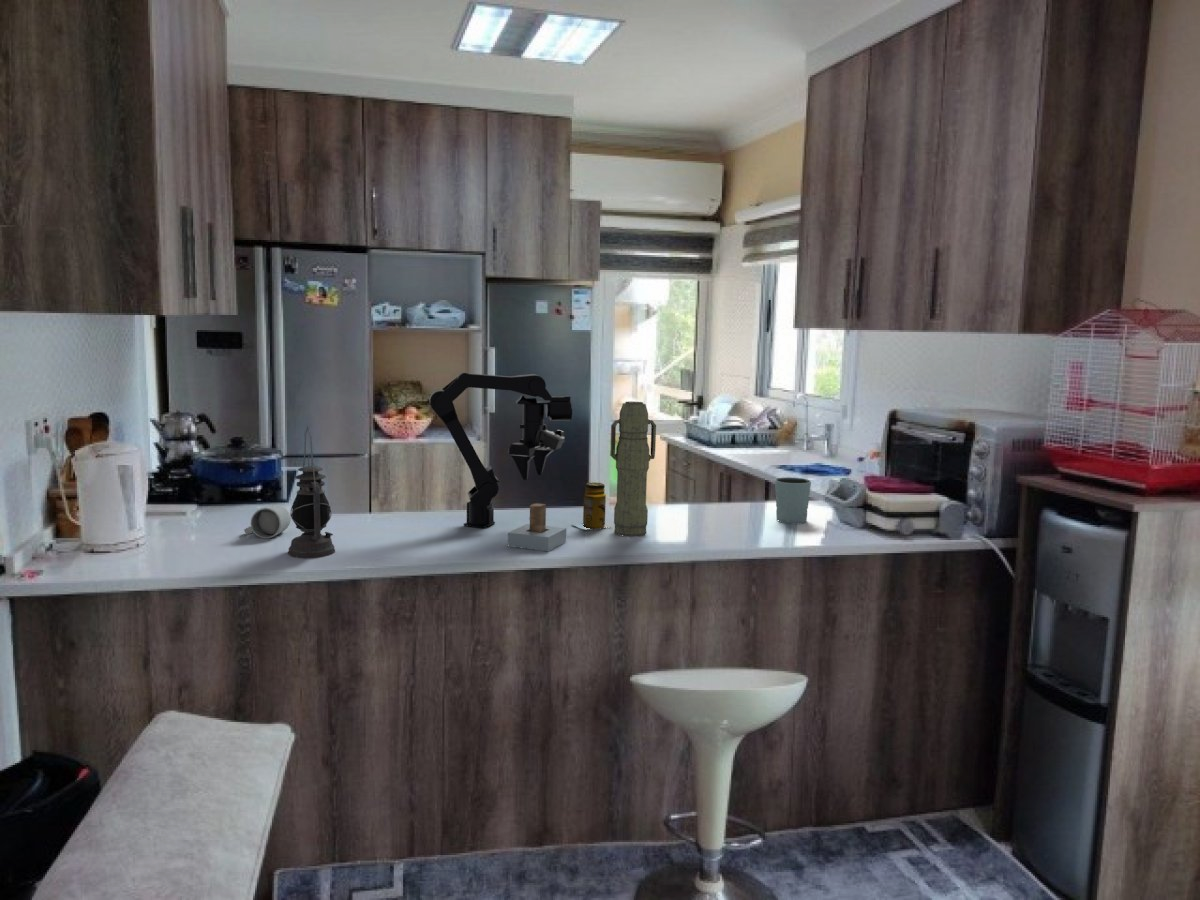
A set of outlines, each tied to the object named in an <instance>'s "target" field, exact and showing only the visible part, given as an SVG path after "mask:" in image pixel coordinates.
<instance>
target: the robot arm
mask: <svg viewBox="0 0 1200 900" xmlns="http://www.w3.org/2000/svg"><path fill="white" fill-rule="evenodd" d="M546 383H547V382H546V381H545V379H544V378H543V377H542V376H540V375H537V374H535V373H528V374H519V375H512V376H507V375H495V374H494V375H493V374H480V373H471V372H465V371H464V372H460V373H459V374H458V375H457V376H456V377H455V378H454V379H453V380H451V381H450V382H449V383H448V384H446V385H445V386H444V387H443V388H442V389H440V388H439V389H436V390H434V391H432V392H431V394H430V395H429V400H428V401H429V405H430V408H431V409H432V411H434V413H435V414H436V415H437V416H438V418H439V419H440V420H441V421H442V423H443V424H444V425H445V426H446V428H447V429H448V432H449V433H450V435H451V437H452V439H453V441H454V442H455V444H456V447H457V448H458V449H459V451H460V454H461V455H462V458H463V459H464V461H465V463H466V464H467V465H466V466H467V467H468V469H469V470H470V474H471V477H472V480H473V483H474V486H473V487H472V488H471V489H470V490H468V492H467V495H468V498H469V499H468V500H469V501H467V502H466V522H465V523H463V526H464V525H468V526H467V527H472V526H475V528H480V527H485V528H487V527H486V526H488V527H489V525H490V526H491V524H492V525H494V523H496V521H495V520H494V519H495V518H494V516H495V515H494V513H495V512H494V511H495V510H494V508H493V502H492V500H493V499H494V498H495V497H496V496H497V494H498V493H499V489H500V488H499V484H498V483H500V480H499V478H498V477H497V476H496V475H495V473H494V470H493V468H492V466H491V465H488V466H487V467H486V466H485V465H484V464H483V462H482V461H481V459H480V458H479V455H478V453H477V452H476V449H475V448H474V446H473V444H472V443H471V441H470V438H469V437H468V435H467V433H466V432H465V429H464V428H463V426H462V423H461V422H460V420H459V418H458V414H457V411H456V408H455V405H454V401H455V400H456V399H458V397H460V395H462V393H464V391H466V390H467V389H468V388H474V389H475V388H476V389H485V390H486V389H487V390H488V389H489V390H501V391H502V390H503V391H512V392H515V393H517V394H518V393H519V394H521V395H520V397H518V399H517V400H516V401H515V403H516V404H517V405H522V424H519V428H520V429H522V438H521V439H519V442H513V443H511V444H509V446H508V448H507V449H508V450H507V454H508V455H510V458H512V459H513V461H514V463H515V465H516V467H517V469H518V472H519V474H520V475H521V478H522V480H523V481H527V480H528V478H529V472H530V464H531V461H532V460H533V463H534V467H535V470H536V471H535V472H536V473H537V475H538V476H542V474H543V472H544V469H545V465H546V462H547V460H548V457H549V455H550V454H551V453H553V452H554V451H557V450H561V448H562V446H563V443H566V439H565V431H563V430H560V429H557V430H556V431H551V430H548V425H547V424H546V423H545V417H546V418H549V421H550V422H552V421H553V422H556V421H558V422H559V421H561V422H562V421H564V422H565V421H566V422H570V421H572V418H573V408H572V401H571V396H570V395H564V396H563V395H562V396H552V395H551V393H550V392H549V391H548V390H547V388H546V387H547V384H546ZM525 395H527V396H531V397H525ZM537 397H538V398H540V399H542V400H544V401H537Z"/></svg>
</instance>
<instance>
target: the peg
mask: <svg viewBox="0 0 1200 900" xmlns="http://www.w3.org/2000/svg"><path fill="white" fill-rule="evenodd" d="M546 516H547V504H545V503H538V502H537V503H536V502H535V503H531V505H530V504H529V524H530V532H536V533H543V532H545V531H546V526H547V525H546V524H547V523H546V521H547V517H546Z"/></svg>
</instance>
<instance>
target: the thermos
mask: <svg viewBox="0 0 1200 900" xmlns="http://www.w3.org/2000/svg"><path fill="white" fill-rule="evenodd" d="M618 417H619V419H617V420H614V421H613V422H612V424H611V425H610V429H611V430H610V451H609V453H610V454H609V456H610V457H611V458H612V459H613V460H615V469H616V473H617V476H616V477H617V478H616V479H617V480H616V502H615V505H614V507H613V508H614V509H613V510H614V511H613V525H614V530H613V531H614V532H613V533H614V534H615V535H617V536H620V535H623V536H622V537H627V536H638V537H643V536H645V534H646V535H647V526H648V516H649V515H648V513H649V512H648V511H649V509H648V507H647V486H648V485H647V484H648V483H647V477H648V471H649V468H650V461H651V460H654V459H655V458H656V457H655V456H656V441H657V440H656V439H657V434H656V433H657V425H656V423H655V422H654V420H653V419H649V412H648V408H647V404H646V403H644V402H643V401H625V402H623V403H622V405H621V408H620V411H619V416H618ZM618 424H619V425H618ZM617 425H618V432H619V436H618V442H617V444H616V435H617V433H616V430H617ZM649 425H650V426H651V430H650V446H649V443H648V442H649V441H648V440H649V439H648V433H649V432H648V431H649Z"/></svg>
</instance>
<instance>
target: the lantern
mask: <svg viewBox="0 0 1200 900" xmlns="http://www.w3.org/2000/svg"><path fill="white" fill-rule="evenodd" d="M307 432H308V435H309V441H310V453H311V455H308V456H307V457H308V458H307V459H308V463H307V464H308V465H305V463H306V453H307V452H306V451H307V450H306V447H307V444H306V443H307V441H306V440H307ZM303 448H304V451H303V453H304V454H303V461H302V462H303V465H302V466H301V467H299V468H298V469H297V471H298V472H302V473H301V474H298V475H296V476H295V477H294V479H296V480H299V481H297V482H296V487H299V489H298V490H296V496H295V498H294V500H293V502H292V504H291V507H290V512H289V514H290V517H291V521H293V523H294V525H295V528H296V529H297V530H300V531H301V532H302V533H301V535H298V536H295V537H294V538H292V540H291V542H290V546H289V547H288V551H287V555H288V556H290V557H293V558H298V559H314V558H315V559H317V558H324V557H327V556H331V555H333V554H335V553H336V549H335V545H334V544H333V541H332V536H334V534H333V533H331V532H329V531H325V532H324V534H322V533H321V531H322V530H323V529H325V528H327V524H328V523H329V521H330V520H331V518H332V510H331V509H332V508H331V505H330V502H329V500H328V499H327V497H326V495H325V490H324V489H323V488H322V487H324V486H325V485H326V483H325V481H323V479H325V478H326V477H327V476H326V475H324V474H322V473H319V472H322V471H324V469H323V468H322V467H320V466H315V465H314V454H313V453H314V452H313V442H312V435H311V430H310V426H309V425H307V426H306V429H305V432H304V446H303ZM310 458H311V465H310Z"/></svg>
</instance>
